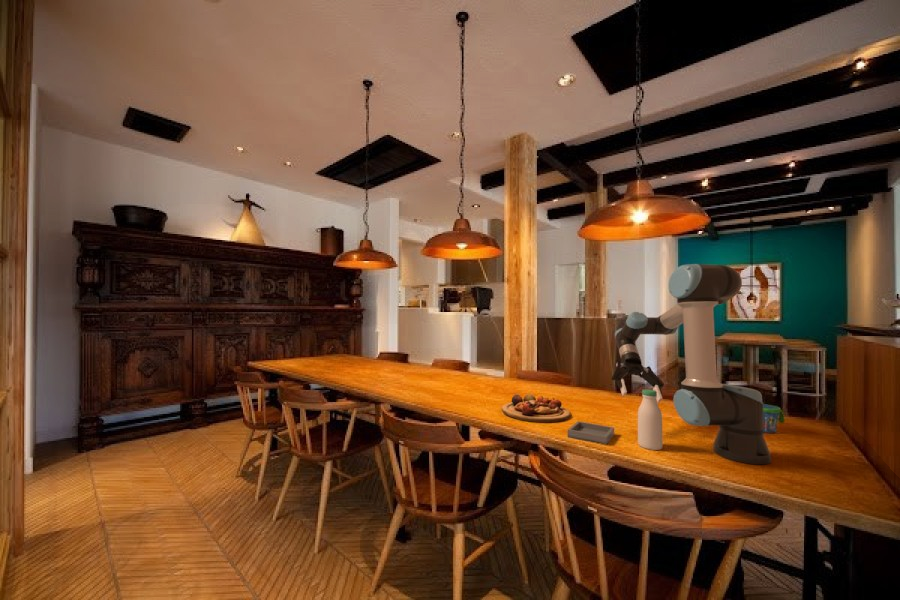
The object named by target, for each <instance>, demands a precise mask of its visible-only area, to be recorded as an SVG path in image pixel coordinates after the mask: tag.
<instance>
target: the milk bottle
mask: <svg viewBox="0 0 900 600" xmlns="http://www.w3.org/2000/svg"><path fill="white" fill-rule="evenodd" d="M641 394H642V400H641V403H640V405H639V407H638V409H637V443H638V445H639V447H641V448H643V449H646V450H652V451H660V450H662V449H663V448H664V446H663V417H662V416H663V415H662V411H661V408H660V407H659V403H658V402H657V399H656V397H657V392H656V391H654V390H653V389H649V388H648V389H644V388H643V389H642V391H641Z"/></svg>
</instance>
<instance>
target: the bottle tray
mask: <svg viewBox="0 0 900 600" xmlns="http://www.w3.org/2000/svg"><path fill="white" fill-rule="evenodd" d="M613 435H614V436H615V427H614V426H608V425H601V424H596V423H592V422H591V423H590V422H584V421H576V422H575V423H574V424H573V425H572V426H570V427H569V428H567V438H569V439H574V440H580V441H585V442H588V441H591V442H590V443H593V442H597V443H596V444H598V443H601V444H600V445H603V444H606V445H605V446H607V445H608V444H609V443H610V442H611V440H612V439H611V438H613V437H614V436H613ZM608 442H609V443H608ZM607 443H608V444H607Z"/></svg>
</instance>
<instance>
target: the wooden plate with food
mask: <svg viewBox="0 0 900 600" xmlns="http://www.w3.org/2000/svg"><path fill="white" fill-rule="evenodd" d="M562 403H563V402H561V400H560V399H555V398H554V397H552V399H549V397H543V395H540V396H538V397H537V399H536V396H534V395H533V394H531V393H528V394H526V395H524V397H522V396H521V395H520V394H519V393H515V394H514V395H513V396H512V398H511V402H508V403H505V404H503V405H502V406H501V413H503V414H504V415H506V416H508V417H510V418H512V419H516V420H521V421H526V422H533V423H558V422H565V421H566V420H567V421H568V419H570V418H571V411H569V410H568V409H567V408H565V407H562Z"/></svg>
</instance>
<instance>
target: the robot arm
mask: <svg viewBox="0 0 900 600" xmlns="http://www.w3.org/2000/svg"><path fill="white" fill-rule="evenodd" d="M742 283H743V280H742V276H741V275H740V273H739V272H738V271H737V270H736V269H735V268H733V267H732V266H729V265H726V264H725V265H724V264H703V263H702V264H701V263H700V264H699V263H692V264H690V263H688V264H682V265H679V266H678V267H677V268H675V269H674V270H673V272H672V273H671V275H670V277H669V279H668V285H667V286H668V293H670V294H671V296H672V297H673V298H675V299H676V303H677V304H676V305H674V306H673V307H671V308H670V309H668V310H667V311H665V312H663V313H662V314H661V315H659V316H658V317H655V316H654V317H648V316H647V315H646V314H645V313H643V312H639V311H633V312H632V313H630V314H629V316H628V317H627V318H626V321H625V322H624V324H623V326H622V327H620V328H618V329H617V330H615V332H614V340H615V342H616V347H617V350H618V353H619V356H620V360H618V361H617V362H616V364H615V370H614V372H613V374H612V375H611V378H610V379H611V380H612V381H615V383H616V384H617V388H618V389H620V392H621V396H622V397H626V395H627V392H628V391H627V387H626V385H625V383H626V382H625V379H624V377H626V375H628V374H629V375H631V376H633V375H634V376H636V377H637V376H638V377H640V378H641V379H643V380H644V381H645V382H646V383H648V384H649V385H650V386H652V387H653V388H652V390H654V391H656V392H657V397H656V401H657V403H658V404H659V403H661V401H662V400H663V396H662V393H663V392H662V388H663V387H664V385H665V383H664V382H663V381H662V380H661V379H660V378H659V376H657V374H656V373H655V372H654V371H653V370H652V368H651V366H649V365H648V366H646V367H644V365H642V359H641V356H640V353H639V350H638V347H637V344H636V342H637V340H638V339H639V337H640V335H662V336H663V335H664V336H666V335H667V336H669V335H673V334H676V332H677V330H678V327H679V326H681V325H682V324H683V341H684V360H685V361H684V362H685V364H684V365H685V378H684V379H683V381H681V382H680V386H681V387H680V389H678V390H676V391H675V393H674V395H673V406H674V409H675V411H676V413H677V415H678V416H679V417H680V418H681V419H682V421H683V422H684V423H687V424H688V425H691V426H695V427H696V426H700V427H707V426H718V431H717V433H716V436H715V437H714V438H715V439H714V441H713V443H712V445H713V446H712V447H713V448H712V449H713V450H712V451H713V452H714V453H715V454H717V456H721V457H723V458H725V459H729V460H730V461H731V460H732V461H735V462H738V463H746V464H751V465H768V464H771V463H772V454H771V451H770V449H769V447H768V446H769V445H767V442H766V439H765V436H764V432H763V404H764V402H763V395H762V393H761V392H760V391H759V390H757V389H753V388H751V387H750V388H749V387H745V386H739V385H734V384H727V383H726V384H725V383H721V382H719V380H718V374H717V355H716V353H717V352H716V338H715V337H716V336H715V335H716V333H715V318H714V307H716V306H717V305H723V304H725V303H727V302H728V301H730V300H731V299H733V298H734V297H735V296H737V295H738V293H739V292H740V290H741V289H742ZM621 368H623V369H624V370H623V371H622V372H621V373H620V374H619V371H620V370H621ZM618 374H619V375H618Z"/></svg>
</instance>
